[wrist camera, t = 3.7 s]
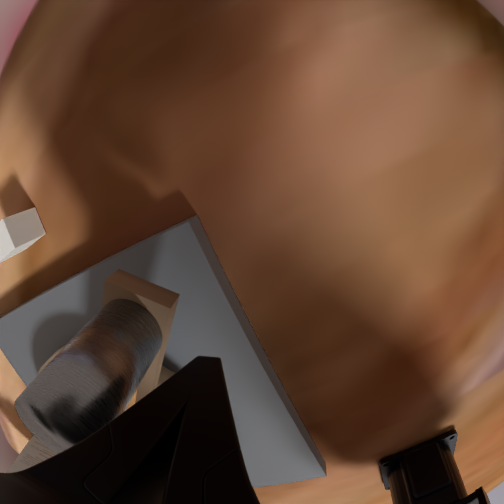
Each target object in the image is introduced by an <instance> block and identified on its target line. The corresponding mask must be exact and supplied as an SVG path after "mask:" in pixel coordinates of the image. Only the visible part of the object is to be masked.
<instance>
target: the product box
mask: <svg viewBox="0 0 504 504" xmlns="http://www.w3.org/2000/svg"><path fill="white" fill-rule="evenodd" d="M54 455H56V453H55V452H53V451H52V450H50V449H49V448H48V447H46V446H45V445H44V444H43V443H42V442H41V441H39V440H38V439H37V438H36V437H35V436H34V435H33V436H32V438H31V439H30V441H29V442H28V443H27V445H26V446H25V447H24V449H23V450H22V452H21V453H20V454H19V456H18V457H17V459H16V460H15V462H14V463H13V465H12V466H11V467H10V469H9V470H8V472H7V473H12V472H18V471H22V470H24V469H27V468H29V467H32V466H34V465H36V464H38V463H40V462H42V461H44V460H46V459H48V458H50V457H52V456H54Z"/></svg>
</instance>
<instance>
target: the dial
mask: <svg viewBox="0 0 504 504" xmlns="http://www.w3.org/2000/svg"><path fill="white" fill-rule="evenodd" d="M179 296H180V294H178V293H176V292H173V291H171V290H168V289H166V288H163V287H161V286H158V285H156V284H154V283H151V282H149V281H146V280H144V279H142V278H139V277H137V276H134V275H132V274H130V273H127V272H125V271H123V270H120V269H118V270H116V271H115V272H114V273H113V274H112V275H110V276H109V277H108V278H107V279H105V282H104V291H103V301H102V309H101V310H100V311H99V312H98V313H97V314H96V315H95V316H94V317H93V318H92V319H91V320H90V321H89V322H88V323H87V324H86V325H85V326H84V327H83V328H82V329H81V330H80V331H79V332H78V333H77V334H76V335H75V336H74V337H73V338H72V339H71V340H70V341H69V342H68V343H67V344H66V345H65V346H63V347H61V348H59V349H58V350H57V351H56V352H55V353H54V354H53V355H52V356H51V357H50V358H49V359H48V360H47V361H46V362H45V364H44V365H43V366H42V367H41V368H40V370H39V372H38V375H37V377H36V378H35V379H34V380H33V381H32V382H31V383H30V384H29V386H28V387H27V388H26V389H25V390H24V391H23V392H22V394H21V395H20V396H19V397H18V398H17V399H16V401H15V408H16V411H17V413H18V415H19V417H20V419H21V420H22V422H23V423H24V424H25V426H26V427H27V428H28V429H29V430H30V432H31V433H32V434H33V435H34V436H35V437H36V438H37V439H38V440H39V441H41V442H42V443H43V444H44V445H45V446H46V447H48V448H49V449H50V450H52V451H53V452H55V453H56V454H58V453H60V452H62V451H64V450H66V449H68V448H70V447H71V446H73V445H75V444H77V443H79V442H80V441H82V440H84V439H85V438H87V437H88V436H90V435H91V434H93V433H94V432H96V431H97V430H99V429H100V428H102V427H103V426H104V425H106V424H108V425H109V422H110V421H112V420H113V419H114V418H116V417H117V416H119V415H120V414H121V413H123V412H124V411H126V410H127V409H128V408H130V407H131V406H132V405H134V404H135V403H136V402H138V401H139V400H140V399H142V398H143V397H145V396H146V395H147V394H149V393H150V392H151V391H153V390H154V389H155V388H157V387H158V386H159V385H160V384H162V383H163V382H164V381H166V380H167V379H168V378H170V377H171V376H172V375H174V374H175V372H173V371H171V370H169V369H168V368H166V367H164V366H162V363H163V358H164V354H165V350H166V346H167V342H168V338H169V334H170V330H171V326H172V322H173V318H174V315H175V311H176V307H177V303H178V300H179Z"/></svg>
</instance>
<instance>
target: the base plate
mask: <svg viewBox="0 0 504 504" xmlns="http://www.w3.org/2000/svg"><path fill="white" fill-rule="evenodd" d="M45 234H46V232H45V230H44V228H43V225H42V223H41V221H40V218H39V216H38V213H37V211H36V208H35V207H34V208H31V209H28V210H25V211H22V212H19V213H17V214H14V215H11V216H8V217H6V218H3V219H2V220H1V221H0V263H1V262H3V261H5V260H7V259H8V258H10V257H12V256H14V255H16V254H18V253H20V252H22V251H24V250H26V249H27V248H28V247H29V246H31V245H32V244H33V243H34V242H36V241H37V240H38V239H40V238H41V237H42V236H44V235H45ZM118 269H120V270H123V271H125V272H127V273H130V274H132V275H134V276H137V277H139V278H142V279H144V280H146V281H149V282H151V283H154V284H156V285H158V286H161V287H163V288H166V289H168V290H171V291H173V292H176V293H178V294H180V296H179V300H178V303H177V307H176V311H175V315H174V318H173V322H172V326H171V330H170V334H169V338H168V342H167V346H166V350H165V354H164V358H163V363H162V366H164V367H166V368H168V369H169V370H171V371H173V372H175V373H176V372H177V371H179V370H180V369H181V368H183V367H184V366H185V365H186V364H188V363H189V362H190V361H192V360H193V359H194V358H195V357H197V356H200V355H201V356H211V357H220V358H221V361H222V366H223V371H224V376H225V381H226V385H227V390H228V395H229V399H230V404H231V408H232V413H233V417H234V422H235V426H236V430H237V435H238V439H239V443H240V447H241V451H242V454H243V458H244V462H245V466H246V469H247V472H248V476H249V479H250V482H251V484H252V486H253V487H263V486H271V485H279V484H286V483H292V482H298V481H304V480H309V479H314V478H319V477H324V476H327V475H326V463H325V461H324V460H323V458H322V456H321V454H320V453H319V451H318V449H317V447H316V446H315V444H314V442H313V440H312V438H311V437H310V435H309V433H308V431H307V429H306V428H305V426H304V424H303V422H302V420H301V419H300V417H299V415H298V413H297V411H296V410H295V408H294V406H293V404H292V402H291V400H290V399H289V397H288V395H287V393H286V391H285V389H284V387H283V386H282V384H281V382H280V380H279V378H278V376H277V374H276V372H275V371H274V369H273V367H272V365H271V363H270V361H269V359H268V357H267V355H266V353H265V351H264V350H263V348H262V346H261V344H260V342H259V340H258V338H257V336H256V334H255V332H254V330H253V328H252V326H251V324H250V322H249V320H248V318H247V316H246V314H245V312H244V310H243V308H242V306H241V304H240V302H239V300H238V298H237V296H236V294H235V292H234V290H233V288H232V286H231V284H230V282H229V280H228V278H227V276H226V274H225V272H224V270H223V268H222V266H221V264H220V262H219V260H218V258H217V256H216V254H215V252H214V250H213V247H212V245H211V243H210V241H209V239H208V237H207V235H206V233H205V231H204V229H203V226H202V224H201V222H200V220H199V218H198V216H197V215H195V216H193V217H191V218H189V219H187V220H184V221H182V222H180V223H178V224H176V225H174V226H171V227H169V228H167V229H165V230H163V231H161V232H159V233H156V234H154V235H152V236H150V237H148V238H146V239H144V240H142V241H140V242H138V243H136V244H134V245H132V246H130V247H128V248H126V249H124V250H122V251H120V252H118V253H116V254H114V255H112V256H110V257H108V258H106V259H104V260H102V261H100V262H98V263H96V264H94V265H92V266H90V267H88V268H86V269H84V270H83V271H81V272H79V273H77V274H75V275H73V276H71V277H69V278H68V279H66V280H64V281H62V282H60V283H58V284H57V285H55V286H53V287H51V288H49V289H48V290H46V291H44V292H42V293H40V294H39V295H37V296H35V297H33V298H32V299H30V300H28V301H26V302H25V303H23V304H21V305H20V306H18V307H16V308H14V309H13V310H11V311H9V312H8V313H6V314H4V315H3V316H1V317H0V348H1V350H2V352H3V353H4V355H5V356H6V358H7V359H8V361H9V362H10V364H11V365H12V367H13V368H14V369H15V371H16V372H17V374H18V375H19V376H20V378H21V379H22V381H23V382H24V383H25V385H26V386H27V387H28V386H29V384H30V383H31V382H32V381H33V380H34V379H35V378H36V377H37V375H38V372H39V370H40V368H41V367H42V366H43V365H44V364H45V362H46V361H47V360H48V359H49V358H50V357H51V356H52V355H53V354H54V353H55V352H56V351H57V350H58V349H59V348H61V347H63V346H65V345H66V344H67V343H68V342H69V341H70V340H71V339H72V338H73V337H74V336H75V335H76V334H77V333H78V332H79V331H80V330H81V329H82V328H83V327H84V326H85V325H86V324H87V323H88V322H89V321H90V320H91V319H92V318H93V317H94V316H95V315H96V314H97V313H98V312H99V311H100V310H101V309H102V301H103V291H104V282H105V279H107V278H108V277H109V276H110V275H112V274H113V273H114V272H115V271H116V270H118Z"/></svg>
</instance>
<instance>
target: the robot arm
mask: <svg viewBox="0 0 504 504" xmlns="http://www.w3.org/2000/svg"><path fill="white" fill-rule="evenodd" d="M457 436H458V434H457V432H456V430H452V431H450V432H448V433H446V434H444V435H442V436H440V437H437V438H435V439H433V440H431V441H429V442H426V443H424V444H422V445H419V446H417V447H414V448H412V449H409V450H407V451H404V452H402V453H399V454H396V455H393V456H391V457H388V458H385V459H382V460H381V461H380V462H379V465H380V469H381V473H382V477H383V482H384V486H385V489H386V490H389V489H390V491H391V496H392V501H393V504H490V501H489V498H488V496H487V494H486V492H485V491H484V489H483V488H482V486H481V487H480V488H478V489H476V490H475V492H473V493H472V494H470V495H467V492H466V489H465V486H464V483H463V481H462V478H461V475H460V473H459V470H458V467H457V465H456V462H455V460H454V457H453V455H454V451H455V446H456V441H457ZM0 504H260V502H259V500H258V498H257V496H256V494H255V491H254V489H253V486H252V484H251V482H250V479H249V476H248V472H247V469H246V466H245V462H244V458H243V454H242V451H241V447H240V443H239V439H238V435H237V430H236V426H235V422H234V417H233V413H232V408H231V404H230V399H229V395H228V390H227V385H226V381H225V376H224V371H223V366H222V361H221V358H220V357H211V356H201V355H200V356H197V357H195V358H194V359H193V360H192V361H190V362H189V363H188V364H186V365H185V366H184V367H183V368H181V369H180V370H179V371H177V372H176V373H175V374H174V375H172V376H171V377H170V378H168V379H167V380H166V381H164V382H163V383H162V384H160V385H159V386H158V387H157V388H155V389H154V390H153V391H151V392H150V393H149V394H147V395H146V396H145V397H143V398H142V399H140V400H139V401H138V402H136V403H135V404H134V405H132V406H131V407H130V408H128V409H127V410H126V411H124V412H123V413H121V414H120V415H119V416H117V417H116V418H114V419H113V420H112V421H110V422H109V425H108V424H106V425H104V426H103V427H102V428H100V429H99V430H97V431H96V432H94V433H93V434H91V435H90V436H88V437H87V438H85V439H84V440H82V441H80V442H79V443H77V444H75V445H73V446H71V447H70V448H68V449H66V450H64V451H62V452H60V453H58V454H56V455H54V456H52V457H50V458H48V459H46V460H44V461H42V462H40V463H38V464H36V465H34V466H32V467H29V468H27V469H24V470H22V471H18V472H12V473H0Z"/></svg>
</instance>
